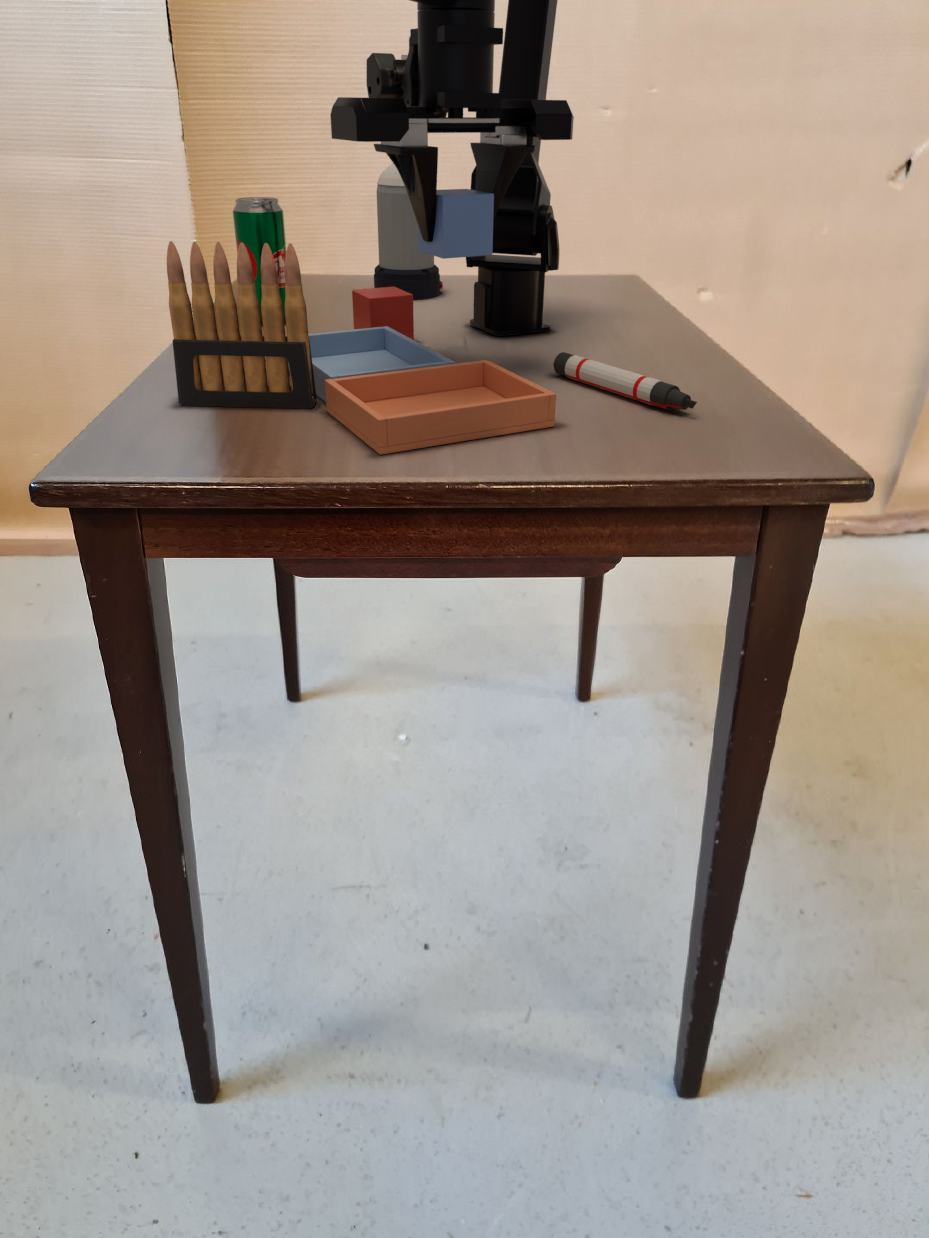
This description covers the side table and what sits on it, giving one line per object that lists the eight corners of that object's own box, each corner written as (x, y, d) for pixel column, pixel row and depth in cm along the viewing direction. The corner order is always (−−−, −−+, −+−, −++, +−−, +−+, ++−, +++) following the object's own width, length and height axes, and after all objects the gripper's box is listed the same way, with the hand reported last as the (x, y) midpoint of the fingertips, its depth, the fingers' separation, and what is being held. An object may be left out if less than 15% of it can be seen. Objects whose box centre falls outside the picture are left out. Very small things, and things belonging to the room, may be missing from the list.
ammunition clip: (178, 405, 71) (153, 243, 65) (185, 398, 73) (162, 239, 67) (313, 408, 71) (300, 245, 65) (317, 401, 73) (305, 241, 66)
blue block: (466, 247, 77) (466, 188, 75) (492, 255, 74) (494, 193, 72) (417, 251, 76) (417, 190, 73) (442, 258, 72) (442, 195, 70)
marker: (552, 376, 80) (553, 353, 79) (568, 372, 81) (570, 350, 80) (686, 420, 69) (690, 395, 68) (703, 416, 70) (707, 391, 69)
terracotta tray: (486, 389, 76) (486, 359, 75) (554, 426, 68) (556, 393, 66) (326, 411, 70) (324, 379, 69) (379, 455, 62) (378, 419, 61)
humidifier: (454, 293, 112) (455, 55, 99) (407, 302, 106) (402, 53, 94) (407, 284, 116) (402, 56, 104) (360, 293, 111) (349, 54, 98)
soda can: (282, 327, 95) (270, 202, 89) (237, 324, 96) (222, 201, 89) (299, 317, 99) (289, 197, 93) (255, 314, 100) (243, 196, 94)
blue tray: (388, 352, 86) (387, 326, 85) (455, 391, 75) (455, 361, 74) (278, 365, 82) (276, 337, 81) (332, 408, 71) (330, 376, 70)
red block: (395, 333, 93) (394, 286, 91) (414, 342, 90) (413, 294, 87) (354, 337, 91) (351, 290, 89) (371, 347, 88) (369, 298, 86)
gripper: (508, 24, 76) (502, 223, 84) (298, 13, 69) (313, 233, 77) (584, 16, 68) (569, 238, 76) (354, 2, 60) (364, 252, 68)
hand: (454, 239), depth 74 cm, fingers closed on blue block, 4 cm apart
